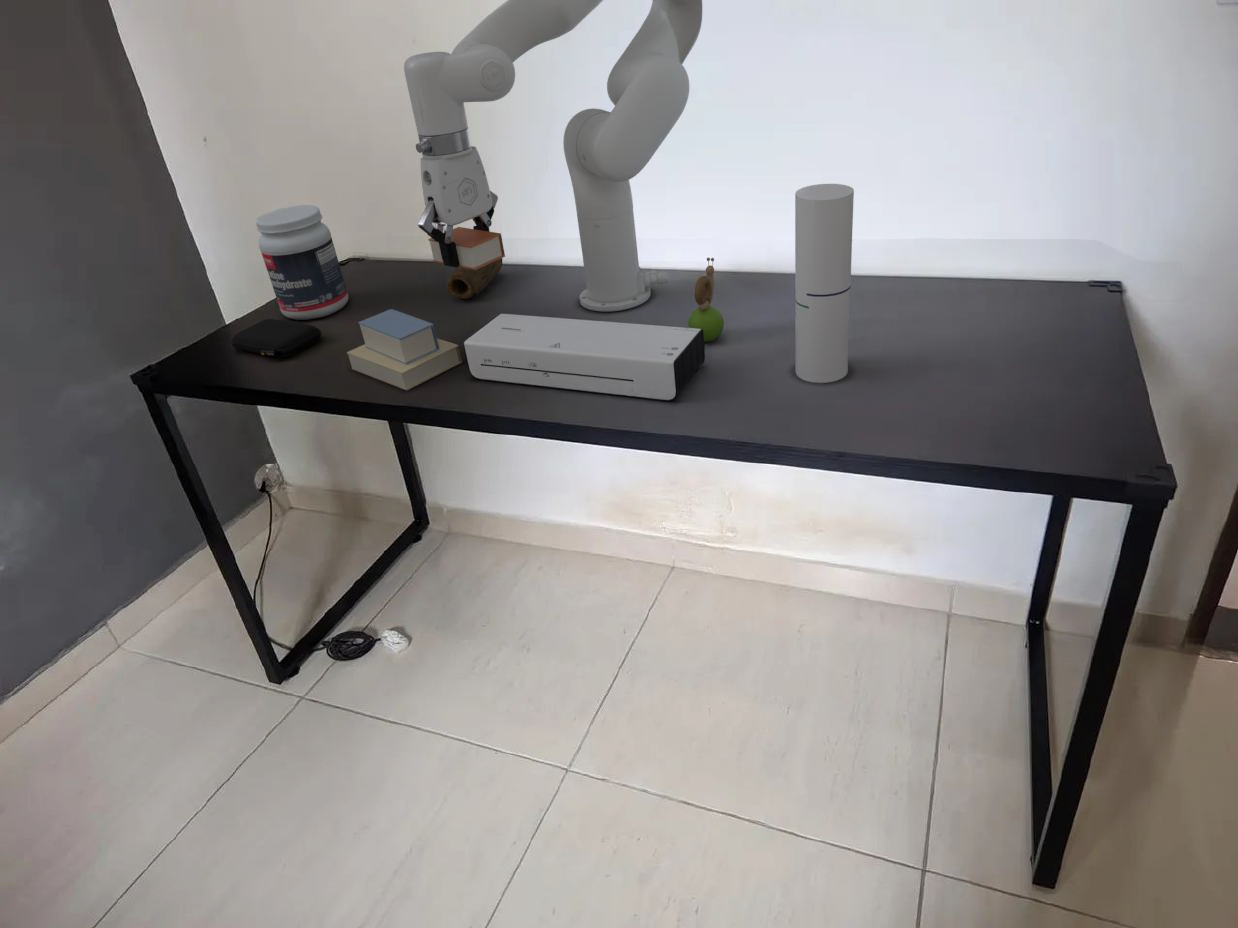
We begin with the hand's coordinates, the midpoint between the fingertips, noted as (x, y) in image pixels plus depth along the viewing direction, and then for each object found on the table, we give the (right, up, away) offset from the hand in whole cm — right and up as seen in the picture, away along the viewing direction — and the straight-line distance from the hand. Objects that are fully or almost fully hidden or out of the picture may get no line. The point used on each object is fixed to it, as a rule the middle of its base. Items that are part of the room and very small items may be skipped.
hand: (468, 257), depth 140 cm
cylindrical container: (+53, -20, -18) cm, 59 cm away
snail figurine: (+38, -14, -5) cm, 41 cm away
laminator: (+19, -20, -10) cm, 29 cm away
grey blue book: (-10, -15, -2) cm, 18 cm away
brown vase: (-3, 0, +26) cm, 27 cm away
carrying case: (-36, -13, +13) cm, 40 cm away
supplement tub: (-34, -4, +26) cm, 43 cm away
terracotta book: (0, 0, 0) cm, 0 cm away
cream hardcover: (-10, -18, -1) cm, 20 cm away
